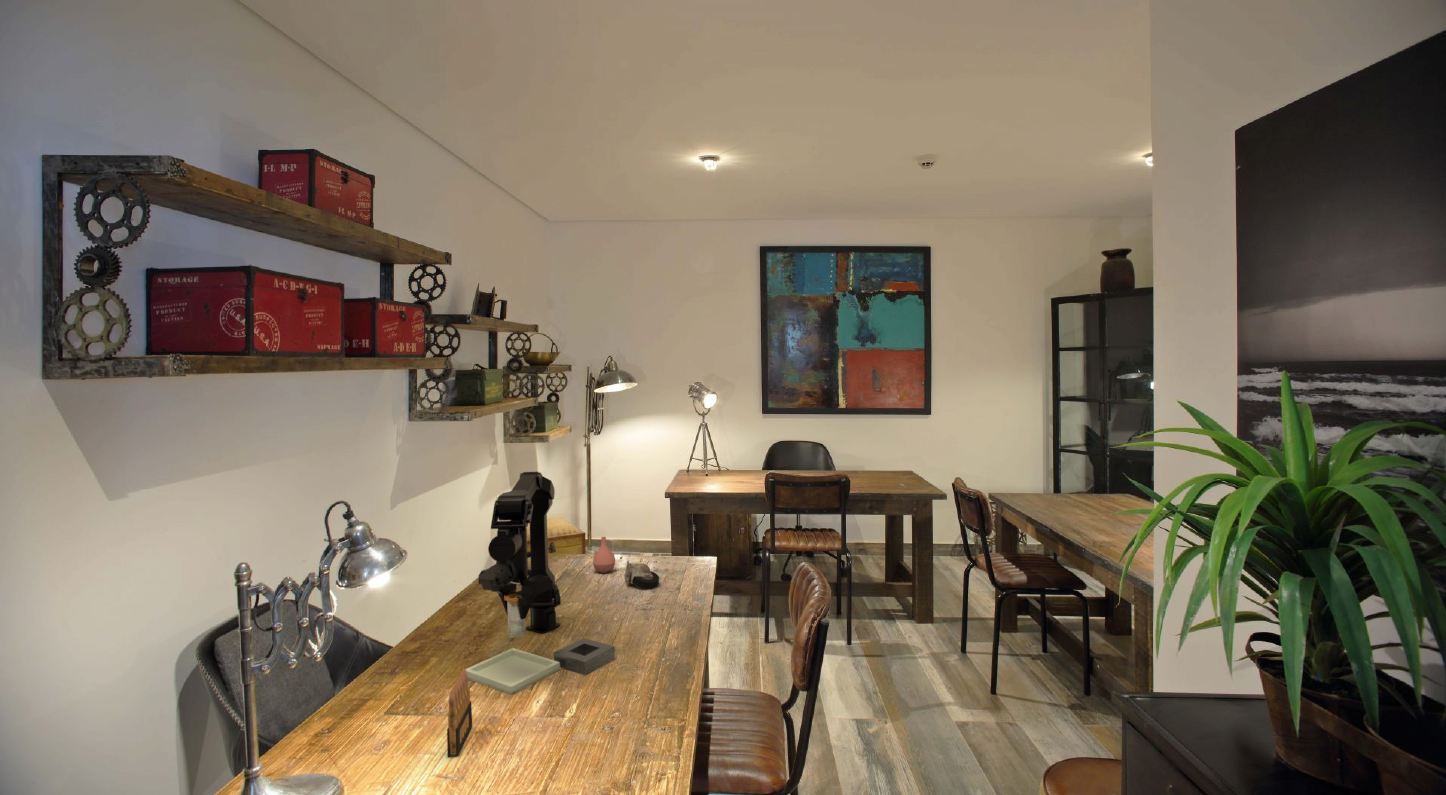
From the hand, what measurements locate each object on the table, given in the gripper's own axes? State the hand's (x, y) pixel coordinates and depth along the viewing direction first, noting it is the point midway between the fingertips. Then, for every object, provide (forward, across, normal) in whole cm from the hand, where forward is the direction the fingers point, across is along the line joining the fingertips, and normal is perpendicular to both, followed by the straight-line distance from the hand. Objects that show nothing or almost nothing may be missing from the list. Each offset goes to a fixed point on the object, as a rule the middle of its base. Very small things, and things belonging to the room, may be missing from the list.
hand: (516, 617), depth 154 cm
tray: (+13, -1, -1) cm, 13 cm away
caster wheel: (+13, -14, +64) cm, 67 cm away
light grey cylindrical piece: (+4, 0, 0) cm, 4 cm away
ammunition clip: (+13, +13, -25) cm, 31 cm away
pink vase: (+13, -35, +69) cm, 78 cm away
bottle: (+13, -51, +40) cm, 67 cm away
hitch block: (+13, +9, +12) cm, 20 cm away
